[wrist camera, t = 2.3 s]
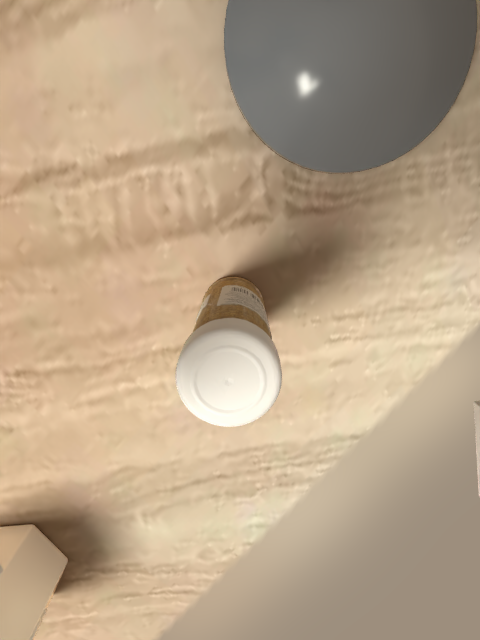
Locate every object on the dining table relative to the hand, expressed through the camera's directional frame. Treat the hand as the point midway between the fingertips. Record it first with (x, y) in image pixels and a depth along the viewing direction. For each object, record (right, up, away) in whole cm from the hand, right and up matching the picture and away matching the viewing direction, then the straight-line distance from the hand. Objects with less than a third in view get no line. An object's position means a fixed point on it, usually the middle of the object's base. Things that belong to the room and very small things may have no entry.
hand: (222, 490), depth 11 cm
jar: (-19, -17, +26) cm, 36 cm away
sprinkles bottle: (0, +5, +20) cm, 20 cm away
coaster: (+7, +21, +15) cm, 27 cm away
